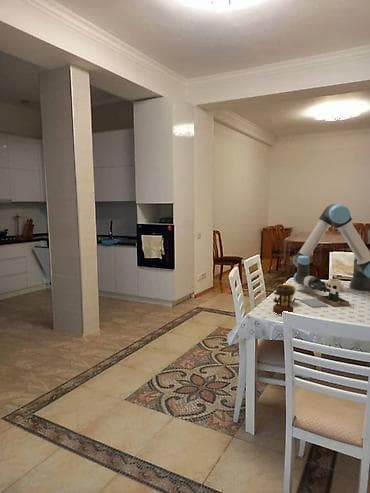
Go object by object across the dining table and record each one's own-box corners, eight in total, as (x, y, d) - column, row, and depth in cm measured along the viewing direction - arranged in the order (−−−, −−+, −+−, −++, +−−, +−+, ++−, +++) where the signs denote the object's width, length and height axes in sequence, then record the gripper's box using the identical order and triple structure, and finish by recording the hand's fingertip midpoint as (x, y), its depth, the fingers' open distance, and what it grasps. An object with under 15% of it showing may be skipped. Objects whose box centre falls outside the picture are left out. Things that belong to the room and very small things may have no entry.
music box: (266, 313, 188) (269, 276, 186) (274, 309, 197) (276, 274, 196) (295, 318, 179) (298, 279, 178) (301, 314, 188) (304, 277, 187)
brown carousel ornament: (295, 305, 202) (296, 289, 200) (277, 304, 204) (278, 288, 202) (293, 300, 212) (294, 284, 210) (276, 299, 214) (277, 283, 212)
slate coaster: (314, 299, 213) (314, 298, 213) (328, 306, 200) (328, 305, 200) (299, 300, 211) (299, 299, 211) (312, 307, 198) (312, 306, 198)
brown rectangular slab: (333, 298, 216) (333, 295, 216) (349, 305, 202) (349, 301, 202) (318, 299, 214) (318, 295, 214) (332, 306, 200) (332, 302, 200)
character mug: (321, 300, 210) (322, 279, 208) (327, 298, 214) (328, 277, 213) (339, 304, 202) (341, 282, 200) (345, 302, 206) (346, 280, 205)
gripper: (324, 286, 228) (353, 295, 207) (299, 289, 221) (326, 299, 199) (325, 275, 227) (353, 283, 206) (300, 278, 220) (327, 286, 198)
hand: (340, 291), depth 202 cm, fingers closed on character mug, 7 cm apart
